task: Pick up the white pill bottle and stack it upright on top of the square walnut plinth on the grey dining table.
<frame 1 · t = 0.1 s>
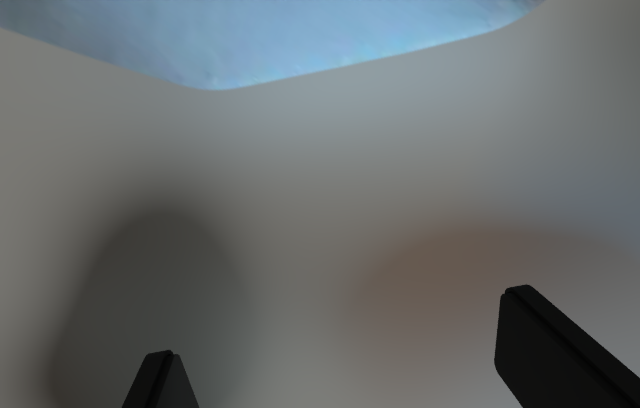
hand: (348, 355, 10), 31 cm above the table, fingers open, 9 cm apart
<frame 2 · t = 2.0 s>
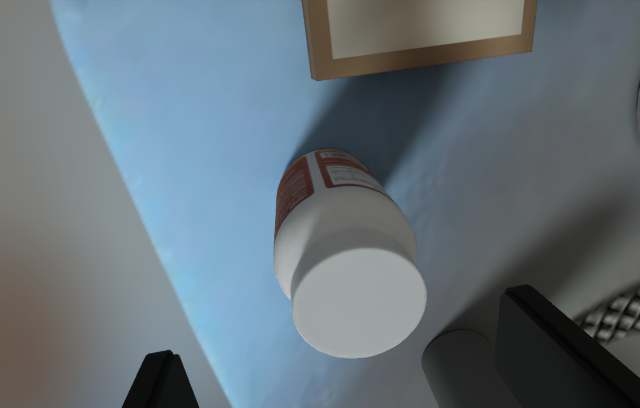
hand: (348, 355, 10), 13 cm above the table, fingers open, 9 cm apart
pill bottle: (325, 192, 22), on the table
bottle: (453, 354, 28), on the table
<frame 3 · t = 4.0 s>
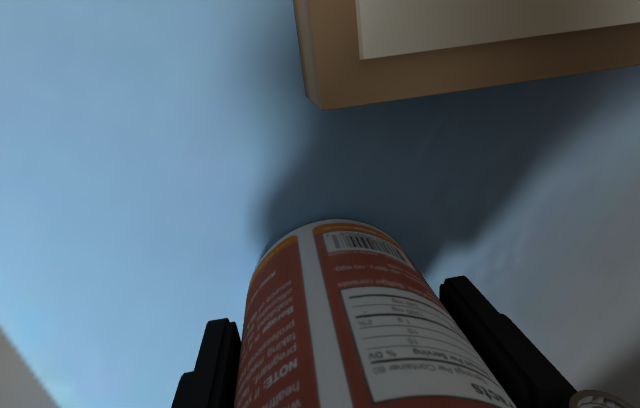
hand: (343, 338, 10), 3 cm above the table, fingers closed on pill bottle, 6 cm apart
pill bottle: (330, 283, 13), on the table, touching gripper
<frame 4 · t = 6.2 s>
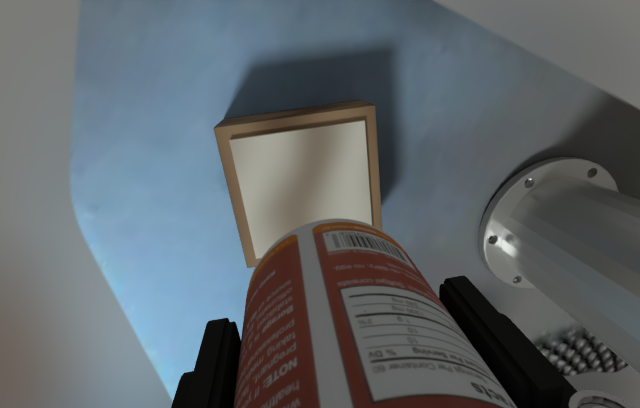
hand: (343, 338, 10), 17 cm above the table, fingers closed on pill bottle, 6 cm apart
walnut plinth: (302, 175, 26), on the table
pill bottle: (330, 283, 13), point 14 cm above the table, touching gripper
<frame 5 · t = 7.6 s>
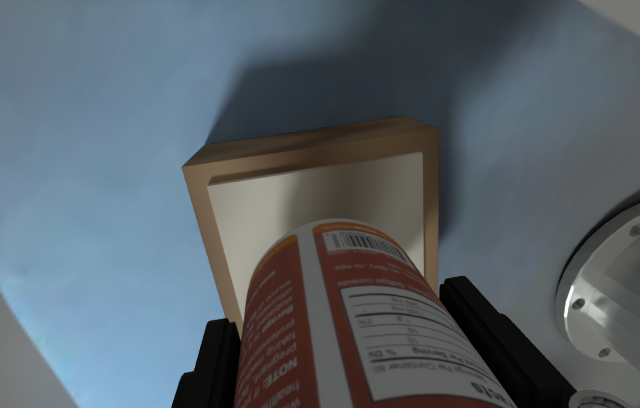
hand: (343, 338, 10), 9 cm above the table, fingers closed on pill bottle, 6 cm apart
walnut plinth: (318, 221, 18), on the table
pill bottle: (330, 283, 13), point 6 cm above the table, touching gripper
when the fingers open (7 cm above the table, at t = 8.8 s): pill bottle stays where it is, resting on walnut plinth.
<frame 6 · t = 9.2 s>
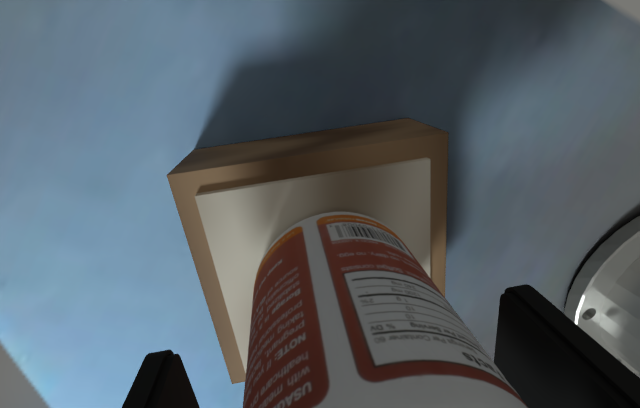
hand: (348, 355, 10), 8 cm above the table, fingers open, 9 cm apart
walnut plinth: (317, 229, 17), on the table
pill bottle: (333, 274, 14), point 4 cm above the table, touching walnut plinth
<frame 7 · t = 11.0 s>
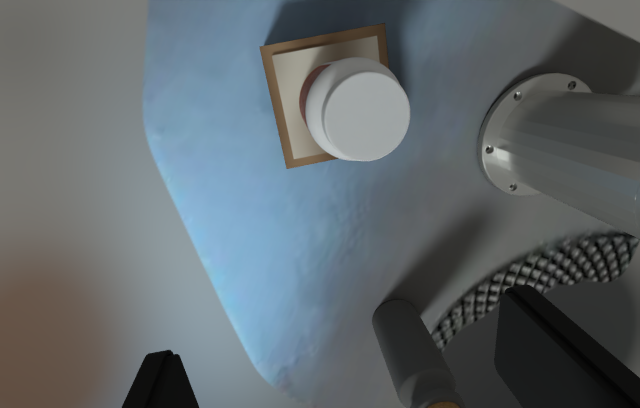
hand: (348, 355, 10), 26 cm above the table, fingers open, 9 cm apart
walnut plinth: (326, 96, 32), on the table
pill bottle: (335, 100, 28), point 4 cm above the table, touching walnut plinth
bottle: (393, 316, 43), on the table
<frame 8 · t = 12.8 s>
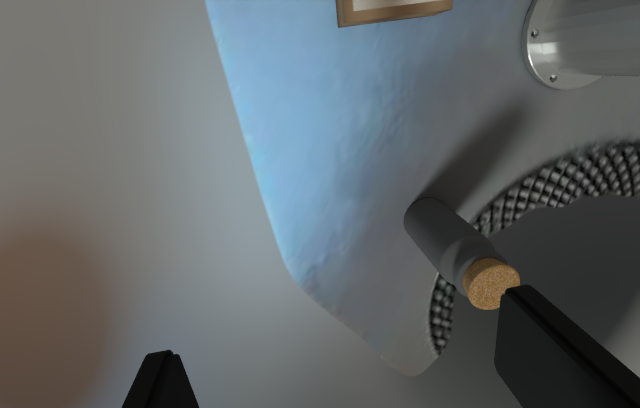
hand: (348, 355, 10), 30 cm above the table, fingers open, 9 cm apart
bottle: (424, 217, 43), on the table
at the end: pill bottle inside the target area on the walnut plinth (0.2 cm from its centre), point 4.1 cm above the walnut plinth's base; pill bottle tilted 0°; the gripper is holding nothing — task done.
